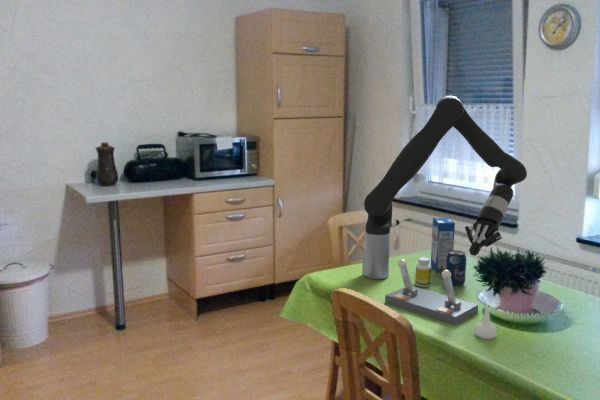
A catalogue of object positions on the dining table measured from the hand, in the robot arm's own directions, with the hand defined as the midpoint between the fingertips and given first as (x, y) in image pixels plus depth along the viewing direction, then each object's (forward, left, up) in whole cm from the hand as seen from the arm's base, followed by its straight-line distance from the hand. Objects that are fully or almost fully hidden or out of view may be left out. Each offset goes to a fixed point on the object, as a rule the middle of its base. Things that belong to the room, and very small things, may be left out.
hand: (472, 254), depth 181 cm
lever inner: (-15, -12, -14) cm, 24 cm away
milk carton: (-26, +26, -17) cm, 41 cm away
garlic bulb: (+16, -19, -17) cm, 30 cm away
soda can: (-13, +14, -17) cm, 26 cm away
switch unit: (-7, -12, -17) cm, 22 cm away
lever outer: (+1, -12, -14) cm, 19 cm away
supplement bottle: (-21, +5, -17) cm, 28 cm away
